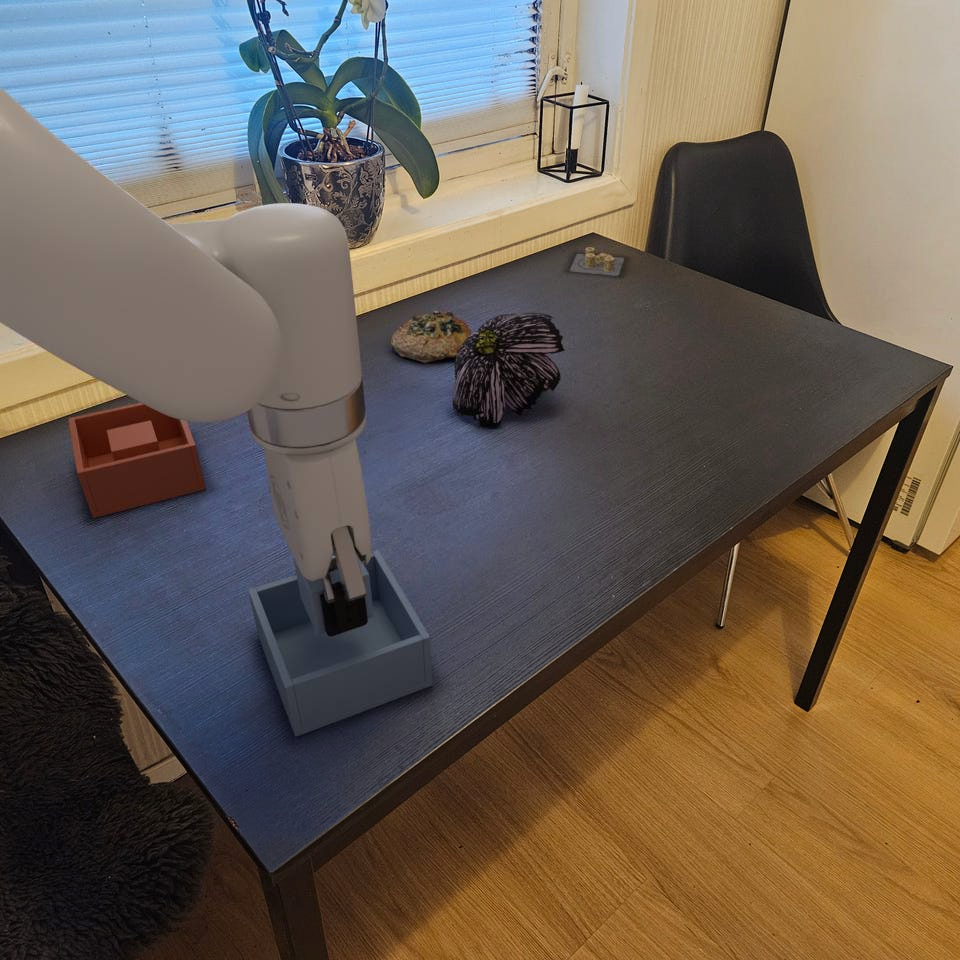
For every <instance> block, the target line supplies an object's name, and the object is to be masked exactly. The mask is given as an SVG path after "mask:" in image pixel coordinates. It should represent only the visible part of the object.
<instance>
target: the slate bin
mask: <svg viewBox="0 0 960 960" xmlns="http://www.w3.org/2000/svg"><path fill="white" fill-rule="evenodd" d="M362 563H363V562H362ZM363 564H364V563H363ZM364 566H365V568H366V570H367V572H368V573H369V579H370V588H371V597H372V606H373V615H374V616H373V617H372V618H369V619H368V622H367V624H366V625H364V626H362V627H359V628H356V629H353V630H350V631H347V632H344V633H341V634H338V635H335V636H332V637H330V636H328V635H327V633H324V634H321V635H317V634H316V631H315V629H314V627H313V625H312V622H311V620H310V618H309V616H308V613H307V611H306V609H305V607H304V604H303V602H302V600H301V596H300V591H299V585H298V580H297V574H295V575H292V576H289V577H285V578H282V579H279V580H275V581H272V582H269V583H266V584H263V585H259V586H256V587H252V588H249V589H247V592H248V595H249V601H250V606H251V609H252V613H253V618H254V622H255V623H254V624H255V626H256V631H257V635H258V639H259V642H260V645H261V647H262V650H263V653H264V655H265V658H266V661H267V664H268V666H269V670H270V672H271V675H272V677H273V680H274V683H275V685H276V688H277V691H278V694H279V696H280V697H279V698H280V699H281V702H282V705H283V707H284V710H285V713H286V715H287V719H288V721H289V723H290V724H289V725H290V727H291V729H292V731H293V735H294V737H295V738H297V737H299V736H302V735H304V734H308V733H310V732H312V731H315V730H318V729H321V728H324V727H326V726H329V725H331V724H334V723H337V722H339V721H342V720H345V719H348V718H350V717H353V716H355V715H358V714H360V713H364V712H366V711H368V710H371V709H374V708H376V707H379V706H382V705H385V704H388V703H389V702H393V701H396V700H398V699H400V698H401V699H402V698H403V697H406V696H409V695H411V694H413V693H416V692H420V691H422V690H424V689H427V688H431V687H432V686H433V672H432V671H433V669H432V652H431V651H432V650H431V636H430V635H429V633H428V630H427V629H426V627H425V625H424V624H423V623H422V621H421V620H420V618H419V616H418V614H417V612H416V611H415V609H414V608H413V606H412V604H411V603H410V600H409V599H408V597H407V596H406V593H405V592H404V591H403V588H402V587H401V586H400V584H399V582H398V581H397V578H396V577H395V575H394V573H393V572H392V571H391V569H390V567H389V565H388V563H387V562H386V560H385V558H384V557H383V555H382V554H381V552H380V550H379V549H376V550H374V551H372V555H371V558H370V560H369V562H368V563H367V564H366V565H365V564H364Z"/></svg>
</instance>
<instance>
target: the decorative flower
mask: <svg viewBox="0 0 960 960" xmlns="http://www.w3.org/2000/svg"><path fill="white" fill-rule="evenodd" d="M552 319H554V317H553V316H552V315H550V314H545V313H541V312H522V313H505V314H500V315H497V316H494V317H492V318H489V319H488V320H486V321H485V322H484V323H483V324H481V326H480V327H478V328H477V330H476V331H474V332H472V333H471V335H470V336H469V337H468V338H467V339H466V340H465V341H464V342H463V343H462V345H461V347H460V349H459V351H458V353H457V357H455V360H454V379H455V383H454V386H453V390H452V391H453V392H452V410H453V411H456V413H457V416H460V415H461V417H464V416H466V417H469V418H470V417H472V418H473V420H475V421H477V423H479V425H478V426H479V427H481V428H488V429H497V428H499V427H500V425H501V424H502V422H503V420H504V416H505V410H506V406H507V408H508V409H509V410H510V411H512V412H513V413H515V414H516V415H518V416H520V417H521V415H522V414H523V413H524V412H525V411H529V410H533V408H532V407H533V406H535V405H536V404H537V401H538V399H539V398H540V397H541V396H542V394H543V392H545V393H546V392H547V391H550V390H551V391H552V392H554V391H555V389H556V388H557V386H558V385H559V384H560V381H561V379H562V378H561V377H562V375H561V372H560V370H559V368H558V366H557V365H556V363H555V362H554V361H553V360H552V359H551V358H550V357H549V356H548V354H550V355H552V354H553V355H554V354H559V353H561V352H566V349H565V348H564V345H563V344H562V342H563V341H562V340H563V338H564V336H563V335H561V334H560V333H561V332H560V329H558V328H557V327H556V325H555V323H554V322H553V320H552Z"/></svg>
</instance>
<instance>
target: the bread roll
mask: <svg viewBox="0 0 960 960" xmlns="http://www.w3.org/2000/svg"><path fill="white" fill-rule="evenodd" d="M471 334H472V330H471V328H470V327H469V326H468V325H467V323H466V321H465V320H463V319H461V317H460V318H459V317H457V316H455V315H454V314H453V312H452V311H451V310H447V311H443V312H440V311H439V310H434V311H433V312H432V313H425V314H420V315H413V316H412V317H410V318H409V320H407V321H406V322H405V323H404V324H403V325H400V326H399V327H398V328H397V329H396V330H395V331H394V332H393V334H392V337H391V339H390V341H391V343H390V344H391V345H392V348H393V350H394V351H395V352H396V353H397V354H398V355H399V356H400V357H402V358H403V357H404V358H407V359H411V360H416V361H419V362H421V363H424V364H427V363H432V362H437V361H442V360H444V359H447V358H456V357H457V353H458V351H459V349H460V347H461V345H462V343H463V342H464V341H465V340H466V339H467V338H468V337H469V336H470V335H471Z"/></svg>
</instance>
